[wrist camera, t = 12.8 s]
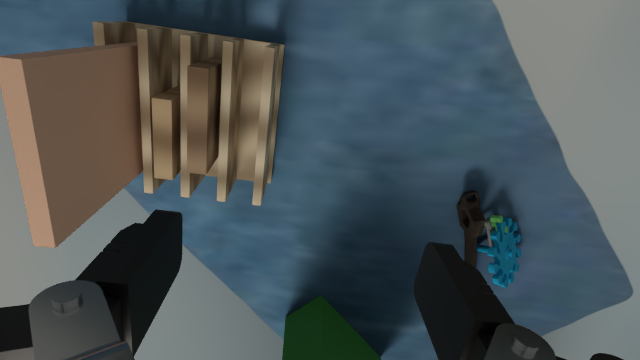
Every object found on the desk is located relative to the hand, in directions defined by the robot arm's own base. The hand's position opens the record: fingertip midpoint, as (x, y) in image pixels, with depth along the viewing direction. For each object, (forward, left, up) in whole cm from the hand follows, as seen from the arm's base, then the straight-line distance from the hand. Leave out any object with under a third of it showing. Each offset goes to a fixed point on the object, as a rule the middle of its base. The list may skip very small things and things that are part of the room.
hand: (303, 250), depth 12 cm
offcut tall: (+4, -11, -37) cm, 38 cm away
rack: (+5, -13, -38) cm, 41 cm away
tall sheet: (+5, -19, -37) cm, 42 cm away
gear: (+19, +31, -38) cm, 53 cm away
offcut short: (+7, -15, -37) cm, 40 cm away
